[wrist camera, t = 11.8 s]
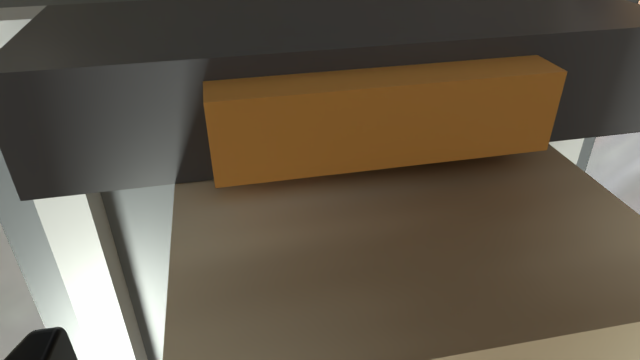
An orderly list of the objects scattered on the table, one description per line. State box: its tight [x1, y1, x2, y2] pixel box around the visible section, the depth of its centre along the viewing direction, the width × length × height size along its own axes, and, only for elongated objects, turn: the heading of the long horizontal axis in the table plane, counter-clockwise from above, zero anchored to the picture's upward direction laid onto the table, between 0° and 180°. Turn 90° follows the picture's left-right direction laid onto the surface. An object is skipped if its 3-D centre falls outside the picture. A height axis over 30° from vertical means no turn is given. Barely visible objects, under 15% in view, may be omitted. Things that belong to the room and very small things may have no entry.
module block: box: [163, 144, 640, 360], centre depth 8 cm, size 5×6×6 cm
